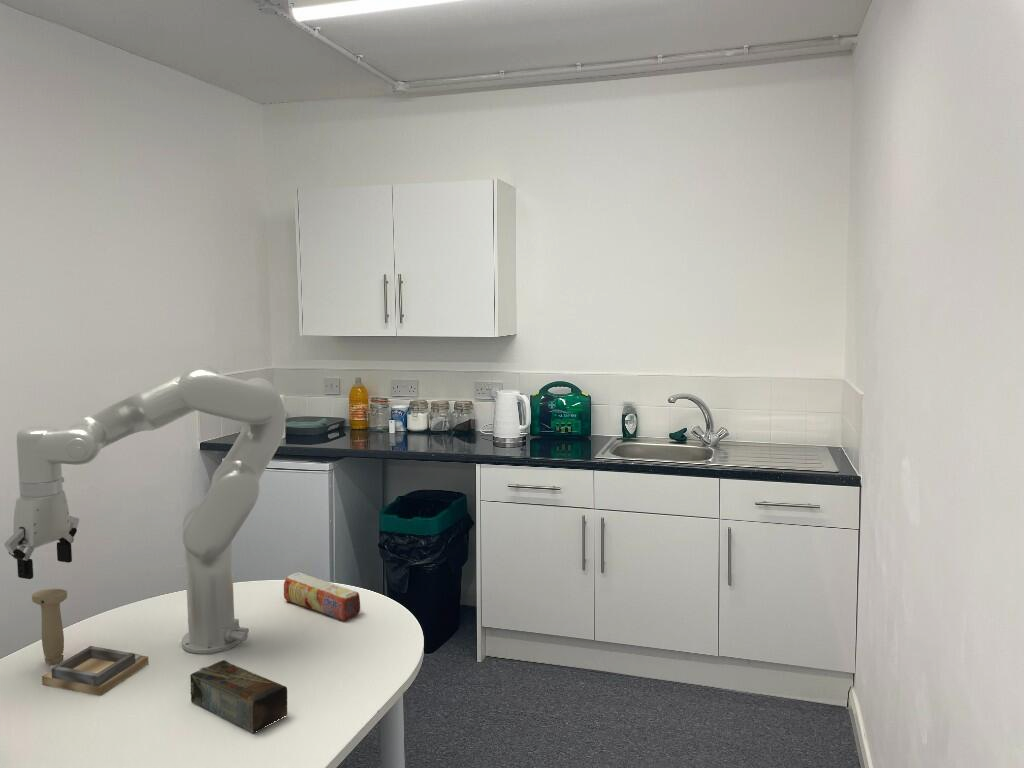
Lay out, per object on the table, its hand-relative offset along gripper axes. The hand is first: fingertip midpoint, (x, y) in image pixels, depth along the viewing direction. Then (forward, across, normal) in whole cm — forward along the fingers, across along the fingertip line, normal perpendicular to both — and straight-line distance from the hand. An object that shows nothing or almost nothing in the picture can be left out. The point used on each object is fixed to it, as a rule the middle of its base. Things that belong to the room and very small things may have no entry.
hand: (45, 569), depth 168 cm
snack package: (+20, -42, +40) cm, 61 cm away
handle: (+20, 0, 0) cm, 20 cm away
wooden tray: (+20, +1, +12) cm, 24 cm away
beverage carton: (+20, +4, +47) cm, 52 cm away
